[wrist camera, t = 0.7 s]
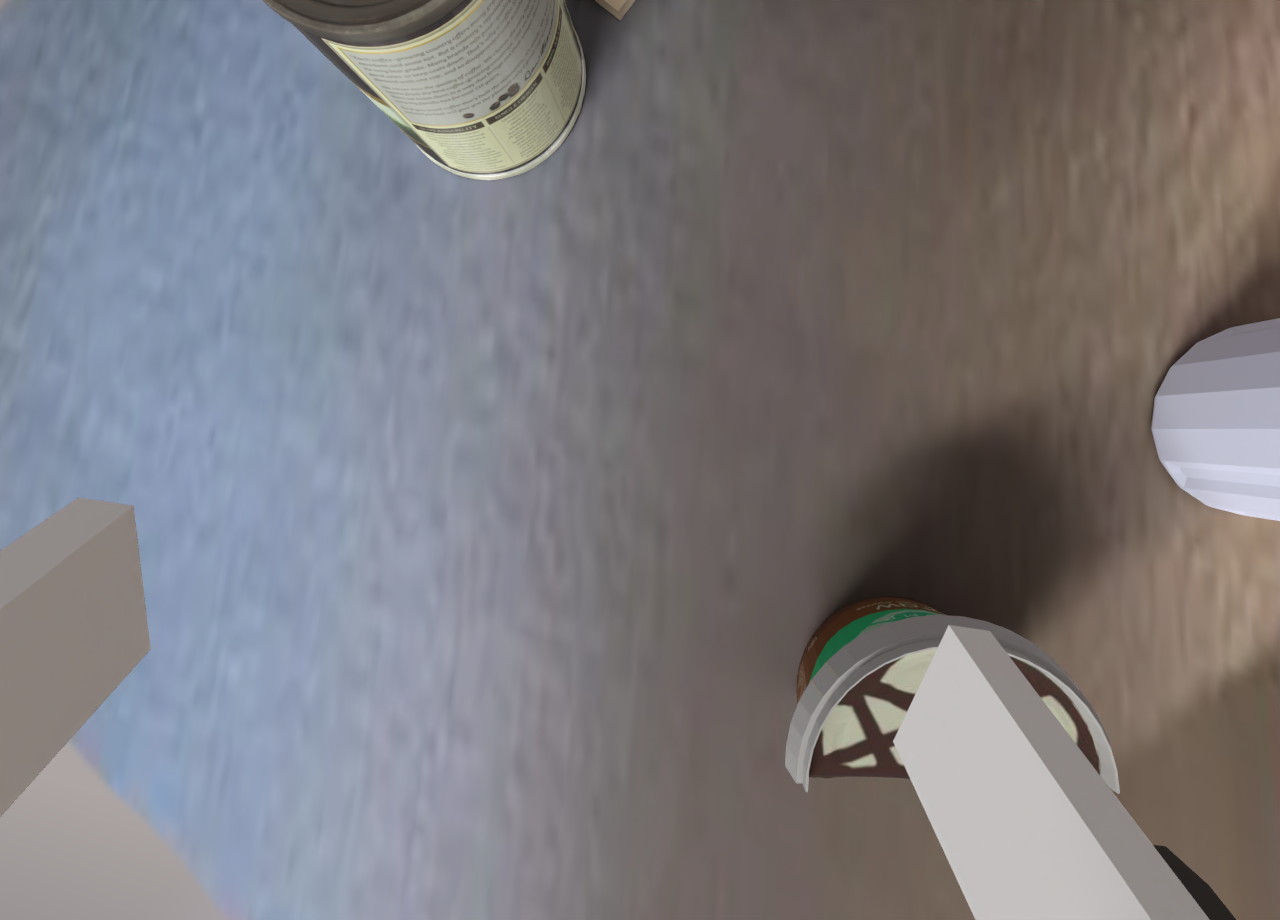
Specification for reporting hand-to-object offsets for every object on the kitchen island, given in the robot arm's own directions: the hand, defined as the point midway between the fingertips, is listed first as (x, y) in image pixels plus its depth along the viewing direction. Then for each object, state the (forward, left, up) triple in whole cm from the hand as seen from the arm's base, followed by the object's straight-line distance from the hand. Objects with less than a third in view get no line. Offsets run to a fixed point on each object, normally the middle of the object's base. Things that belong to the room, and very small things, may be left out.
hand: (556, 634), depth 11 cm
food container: (-2, +14, -25) cm, 29 cm away
